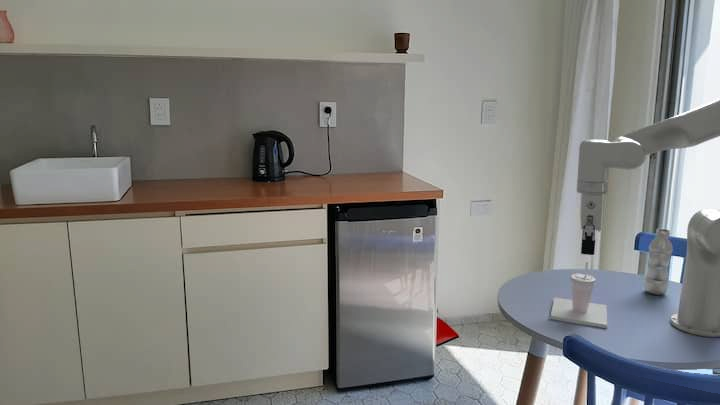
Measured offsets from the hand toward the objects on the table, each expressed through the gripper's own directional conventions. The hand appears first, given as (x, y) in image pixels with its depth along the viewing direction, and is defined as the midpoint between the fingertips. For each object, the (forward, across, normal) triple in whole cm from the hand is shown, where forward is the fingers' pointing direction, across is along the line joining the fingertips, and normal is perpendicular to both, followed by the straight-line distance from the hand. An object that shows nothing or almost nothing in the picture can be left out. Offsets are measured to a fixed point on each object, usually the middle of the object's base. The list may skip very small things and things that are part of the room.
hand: (587, 249), depth 144 cm
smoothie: (+18, 0, +1) cm, 18 cm away
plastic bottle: (+20, +26, -20) cm, 38 cm away
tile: (+19, 0, +1) cm, 19 cm away
